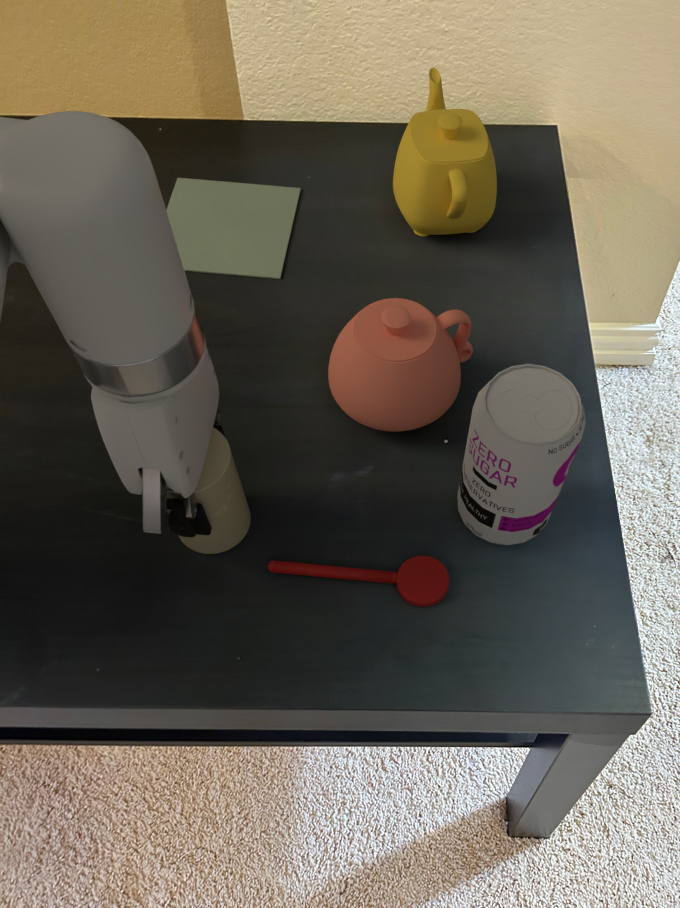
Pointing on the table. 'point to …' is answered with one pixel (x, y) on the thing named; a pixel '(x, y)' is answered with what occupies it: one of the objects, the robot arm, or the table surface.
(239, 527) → the beige cylinder
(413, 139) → the teapot
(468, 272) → the table surface
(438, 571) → the spoon
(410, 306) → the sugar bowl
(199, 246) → the mat
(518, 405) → the supplement can
